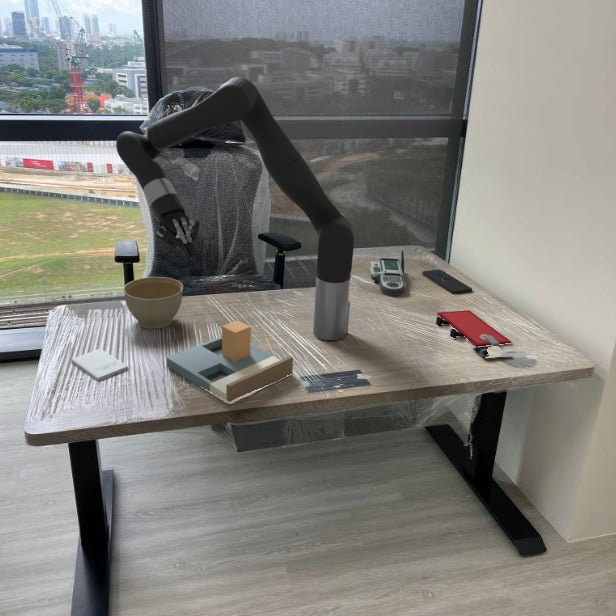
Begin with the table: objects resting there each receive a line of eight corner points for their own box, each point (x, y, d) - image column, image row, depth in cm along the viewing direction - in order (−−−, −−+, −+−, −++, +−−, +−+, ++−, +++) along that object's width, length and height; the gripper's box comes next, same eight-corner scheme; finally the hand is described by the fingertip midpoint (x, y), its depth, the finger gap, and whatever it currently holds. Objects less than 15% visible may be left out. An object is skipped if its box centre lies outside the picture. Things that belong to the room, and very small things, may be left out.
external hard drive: (101, 353, 154) (128, 371, 147) (71, 364, 149) (98, 383, 141) (101, 348, 154) (128, 365, 146) (70, 358, 148) (97, 377, 141)
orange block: (237, 348, 154) (237, 320, 150) (250, 355, 151) (250, 326, 147) (222, 354, 150) (221, 325, 147) (235, 361, 147) (235, 332, 144)
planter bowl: (114, 329, 166) (111, 292, 162) (145, 307, 180) (143, 273, 176) (166, 339, 162) (164, 302, 158) (194, 316, 176) (193, 281, 172)
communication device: (372, 297, 197) (374, 272, 194) (368, 271, 219) (370, 248, 215) (409, 298, 197) (412, 273, 194) (401, 272, 219) (403, 249, 215)
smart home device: (440, 268, 220) (473, 288, 203) (440, 273, 221) (472, 293, 204) (421, 270, 217) (453, 291, 201) (420, 275, 218) (452, 295, 201)
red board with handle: (478, 363, 158) (526, 358, 163) (480, 353, 157) (528, 349, 161) (425, 317, 184) (468, 314, 189) (427, 308, 183) (470, 306, 188)
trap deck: (229, 341, 162) (229, 324, 160) (292, 375, 148) (293, 357, 146) (167, 366, 149) (166, 348, 147) (229, 405, 134) (229, 386, 132)
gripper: (146, 195, 147) (177, 256, 145) (190, 189, 156) (220, 245, 154) (135, 212, 153) (165, 270, 150) (178, 204, 162) (207, 259, 159)
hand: (193, 258), depth 152 cm, fingers closed
